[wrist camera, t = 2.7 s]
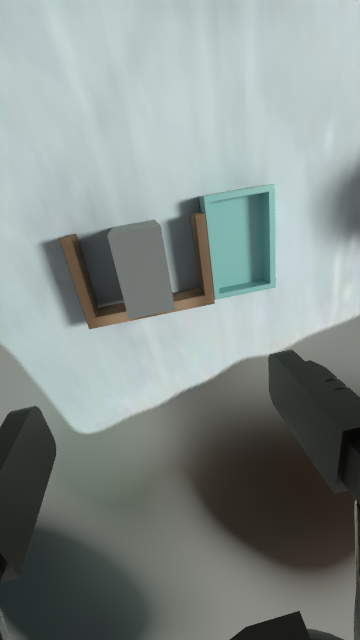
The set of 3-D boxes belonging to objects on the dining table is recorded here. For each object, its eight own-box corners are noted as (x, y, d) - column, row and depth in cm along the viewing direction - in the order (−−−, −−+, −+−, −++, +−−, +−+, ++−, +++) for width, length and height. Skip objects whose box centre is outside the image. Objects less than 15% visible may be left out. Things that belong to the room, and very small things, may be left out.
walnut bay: (198, 212, 30) (204, 213, 28) (208, 295, 34) (214, 303, 32) (66, 235, 29) (59, 239, 26) (92, 318, 33) (89, 329, 31)
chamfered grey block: (154, 219, 30) (160, 225, 24) (167, 289, 33) (175, 310, 27) (112, 227, 30) (106, 235, 23) (129, 296, 33) (128, 319, 27)
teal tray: (264, 185, 30) (274, 184, 28) (266, 281, 35) (275, 287, 33) (198, 196, 30) (203, 196, 27) (209, 293, 34) (214, 299, 32)
